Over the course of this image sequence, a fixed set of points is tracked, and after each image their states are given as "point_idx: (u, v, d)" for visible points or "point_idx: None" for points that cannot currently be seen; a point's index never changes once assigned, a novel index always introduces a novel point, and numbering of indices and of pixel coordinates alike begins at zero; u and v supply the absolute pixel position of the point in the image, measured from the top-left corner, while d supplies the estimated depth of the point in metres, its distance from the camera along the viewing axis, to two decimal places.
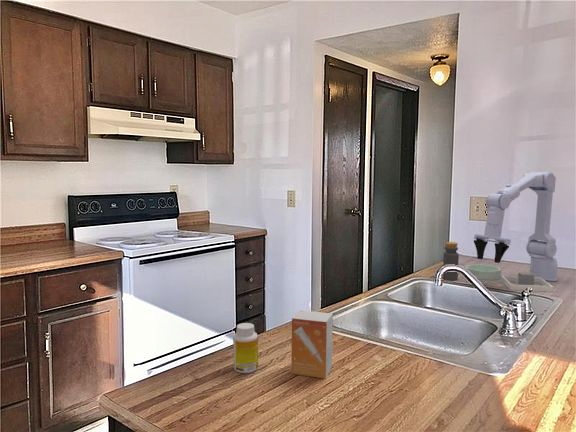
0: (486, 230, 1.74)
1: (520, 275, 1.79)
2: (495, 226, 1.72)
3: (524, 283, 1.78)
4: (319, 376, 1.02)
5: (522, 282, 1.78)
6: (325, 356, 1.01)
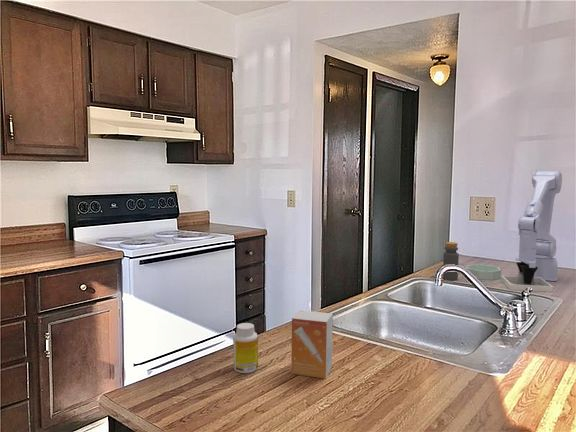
0: (519, 253, 1.80)
1: (520, 275, 1.79)
2: (524, 249, 1.76)
3: (524, 283, 1.78)
4: (319, 376, 1.02)
5: (522, 282, 1.78)
6: (325, 356, 1.01)
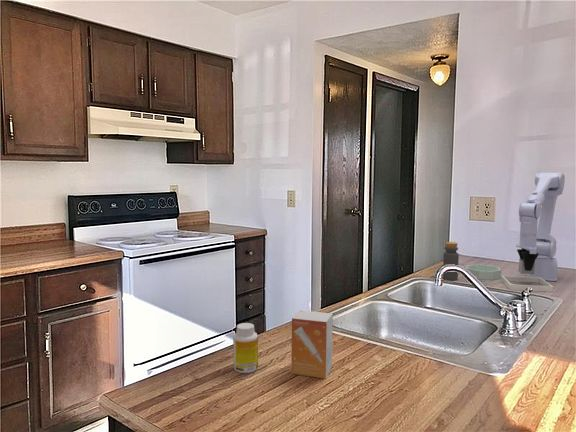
0: None
1: (521, 262, 1.78)
2: (524, 236, 1.76)
3: None
4: (319, 376, 1.02)
5: (523, 268, 1.77)
6: (325, 356, 1.01)
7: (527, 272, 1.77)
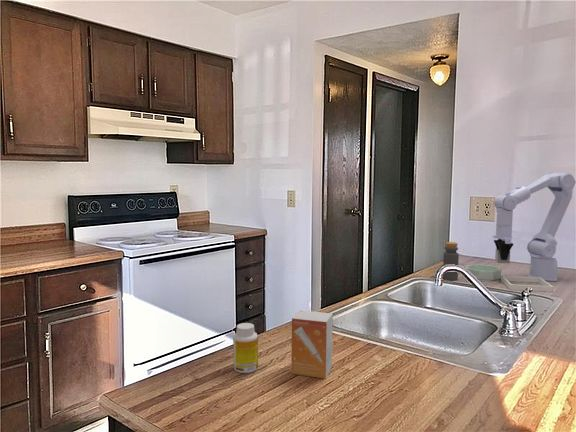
0: (496, 230, 1.87)
1: (497, 251, 1.87)
2: (500, 226, 1.84)
3: None
4: (319, 376, 1.02)
5: (499, 258, 1.86)
6: (325, 356, 1.01)
7: (503, 261, 1.86)
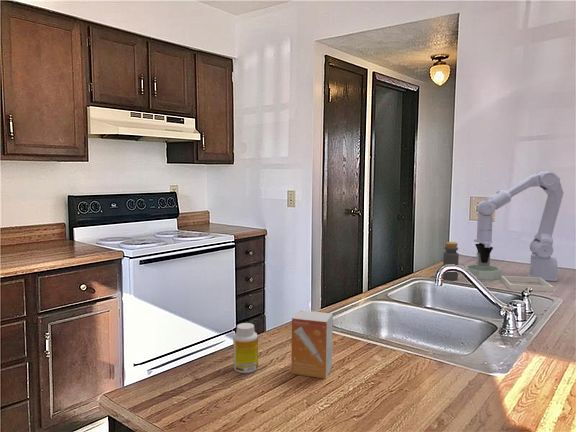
0: (477, 234, 1.95)
1: (477, 255, 1.95)
2: (480, 231, 1.92)
3: (481, 262, 1.94)
4: (319, 376, 1.02)
5: (479, 261, 1.94)
6: (325, 356, 1.01)
7: (483, 264, 1.93)
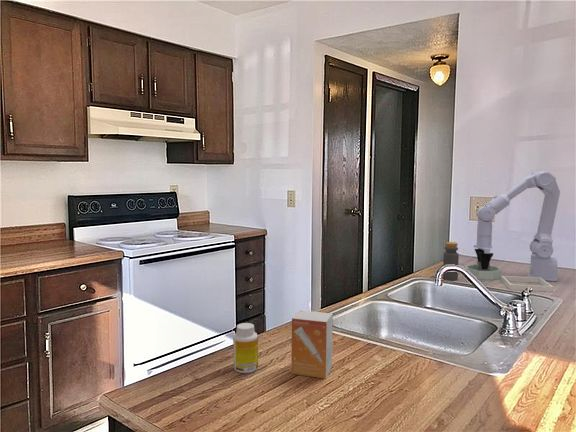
0: None
1: (477, 264, 1.95)
2: (480, 237, 1.92)
3: None
4: (319, 376, 1.02)
5: (479, 270, 1.94)
6: (325, 356, 1.01)
7: None
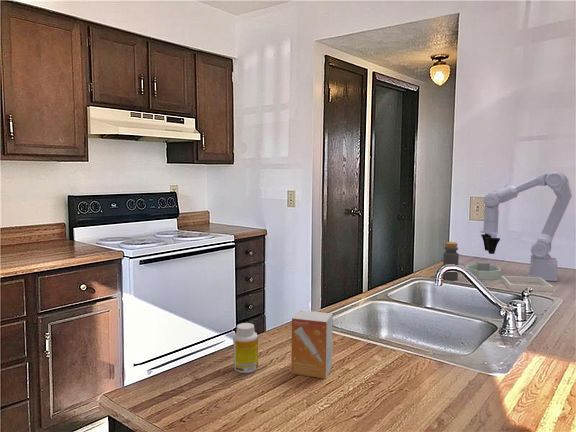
0: None
1: (477, 264, 1.95)
2: (487, 222, 1.99)
3: None
4: (319, 376, 1.02)
5: (479, 270, 1.94)
6: (325, 356, 1.01)
7: None
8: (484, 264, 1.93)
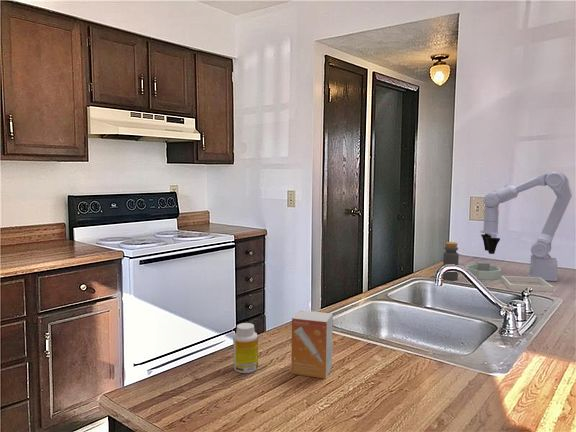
0: None
1: (477, 264, 1.95)
2: (487, 222, 1.99)
3: None
4: (319, 376, 1.02)
5: (479, 270, 1.94)
6: (325, 356, 1.01)
7: None
8: (484, 264, 1.93)
